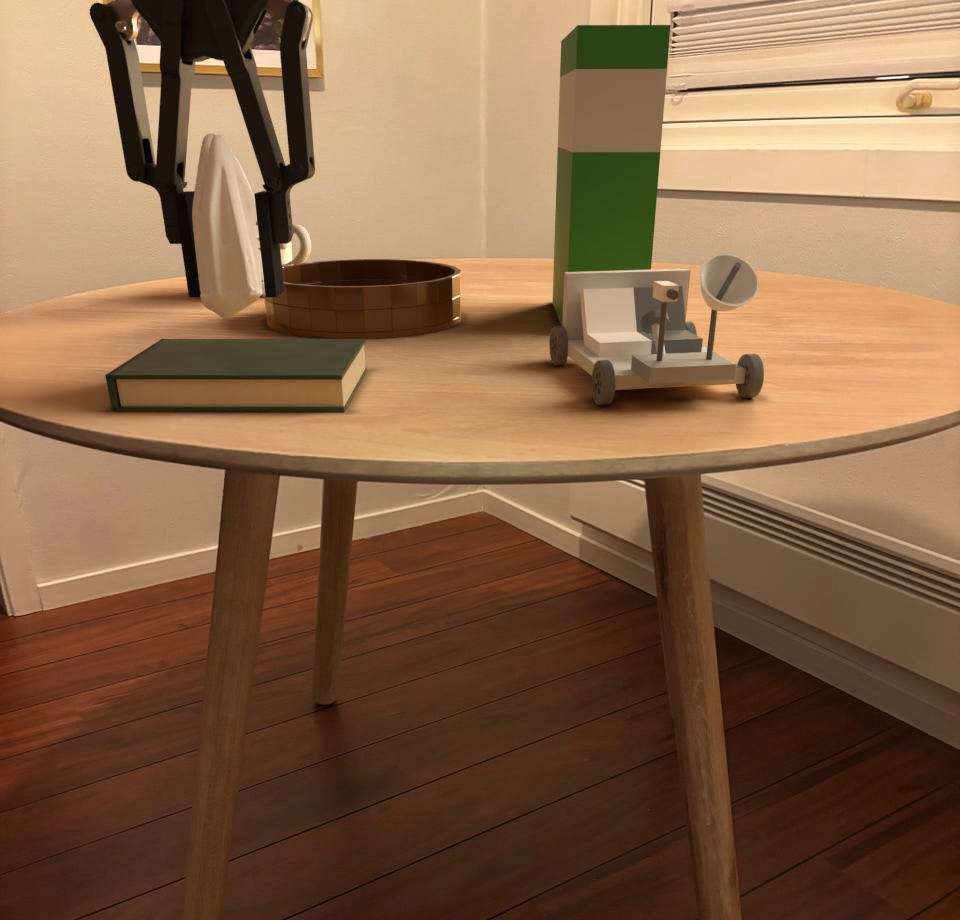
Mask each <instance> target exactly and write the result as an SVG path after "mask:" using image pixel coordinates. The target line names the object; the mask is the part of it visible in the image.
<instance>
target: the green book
mask: <svg viewBox="0 0 960 920" xmlns="http://www.w3.org/2000/svg"><path fill="white" fill-rule="evenodd" d="M365 344H366V339H325V338H161V339H159V340H157V341H156V342H154V343H153V344H151V345H150V346H148V347H146V348H145V349H143V350H141V352H139V353H137V354H135V355H134V356H132V357H131V358H129V359H128V360H126V361H125V362H123V363H122V364H119V366H117V367H115V368H113V369H112V370H111V371H109V372H108V373H106V374H104V377H105V380H106V386H107V392H108V397H109V402H110V407H111V408H110V409H111V412H113V413H116V412H117V413H126V412H127V413H134V412H135V413H139V412H140V413H166V412H167V413H345V412H346V410H347V408H348V406H349V404H350V402H351V401H352V399H353V397H354V396H355V394H356V392H357V390H358V388H359V386H360V385H361V383H362V381H363V379H364V377H365V376H366V374H367V371H368V368H367V367H366V354H365V353H366V352H365Z"/></svg>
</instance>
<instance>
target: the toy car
mask: <svg viewBox="0 0 960 920" xmlns="http://www.w3.org/2000/svg"><path fill="white" fill-rule="evenodd" d="M690 280H691V269H688V268H661V269H660V268H659V269H651V270H620V271H586V272H564V296H563V322H562V326H561V325H555V326H553V327H552V328H551V331H550V334H549V344H548V345H549V347H548V348H549V356H550V360H551V363H552V364H553V366H564V365H565V364H566V363H567V361H568V358H570V359H571V360H572V361H573V362H574V363H575V364H577V365H578V366H579V367H580V368H581V369H582V370H584V371H585V372H586V373H587V374H589V375H590V376H591V393H592V397H593V400H594V402H595V404H596V406H609V405H611V404H612V403H613V401H614V397H615V393H616V391H619V390H620V391H621V390H641V389H642V390H643V389H661V388H681V387H699V386H722V385H735V387H736V391H737V393H738V395H739V396H740V397H741V398H743V399H749V398H751V399H752V398H757V396H758V395H759V394H760V393H761V391H762V389H763V385H764V381H765V369H764V368H765V367H764V363H763V359H762V358H761V356H760V355H759V354H757V353H745V354H743V355H741V356H740V358H739V359H738V361H737V363H735V362H733V361H732V360H730V359H728V358H726V357H724V356H722V355H720V354H719V353H717V352H715V351H714V347H715V346H714V345H715V338H716V337H715V336H716V327H717V320H718V312H729V311H732V310H736V309H738V308H740V307H743V306H744V305H745V306H746V304H749V303H751V302H752V301H753V300H754V299H755V298H756V296H757V295H758V293H759V289H760V278H759V275H758V273H757V271H756V269H755V268H754V266H753V265H752V264H751V263H750V262H749V261H747V259H745V258H743V257H741V256H739V255H736V254H734V253H726V252H721V253H716V254H713V255H711V256H709V257H708V258H707V259H705V261H703V263H702V264H701V266H700V270H699V285H700V292H701V295H702V298H703V300H704V302H705V305H707V307H709V308H710V309H711V311H710V318H709V319H710V320H709V329H708V338H707V339H708V340H707V345H706V346H707V347H706V346H704V345H703V342H704V341H703V340H704V338H703V337H700V336H699V335H698V331H697V328H696V325H695V323H694V322H693V321H689V320H687V310H688V302H689V291H690V283H691V281H690Z"/></svg>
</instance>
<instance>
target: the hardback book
mask: <svg viewBox="0 0 960 920" xmlns="http://www.w3.org/2000/svg"><path fill="white" fill-rule="evenodd" d="M671 25H672V24H577V25H576V26H575V27H574V28H573V29H572V30H571V31H570V32H569V33H568V34H567V35H566V36H565V37H564V38H563V39H562V40H561V41H560V61H559V63H560V65H559V94H558V95H559V98H558V122H557V123H558V124H557V125H558V126H557V127H558V129H557V154H556V155H557V157H556V181H555V182H556V184H555V185H556V186H555V213H554V214H555V215H554V217H555V218H554V244H553V246H554V247H553V275H552V305H553V309H554V311H555V314H556V315H557V318H558V321H559V324H560V326H562V322H563V296H564V272H586V271H620V270H652V263H653V262H652V261H653V251H654V250H653V249H654V237H655V224H656V212H657V200H658V199H657V198H658V187H659V175H660V163H661V151H662V150H661V149H662V138H663V137H662V136H663V124H664V112H665V99H666V89H667V88H666V86H667V75H668V62H669V52H670V51H669V48H670V37H671Z"/></svg>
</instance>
